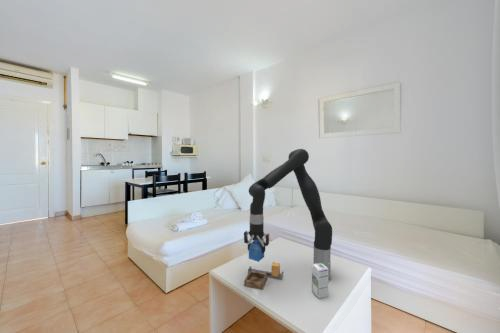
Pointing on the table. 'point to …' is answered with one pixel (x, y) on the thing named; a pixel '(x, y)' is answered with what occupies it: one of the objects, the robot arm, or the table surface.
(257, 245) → the perfume bottle
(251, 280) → the tray
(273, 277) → the rail
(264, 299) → the table surface
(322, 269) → the syrup box
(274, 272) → the tan rectangular block
